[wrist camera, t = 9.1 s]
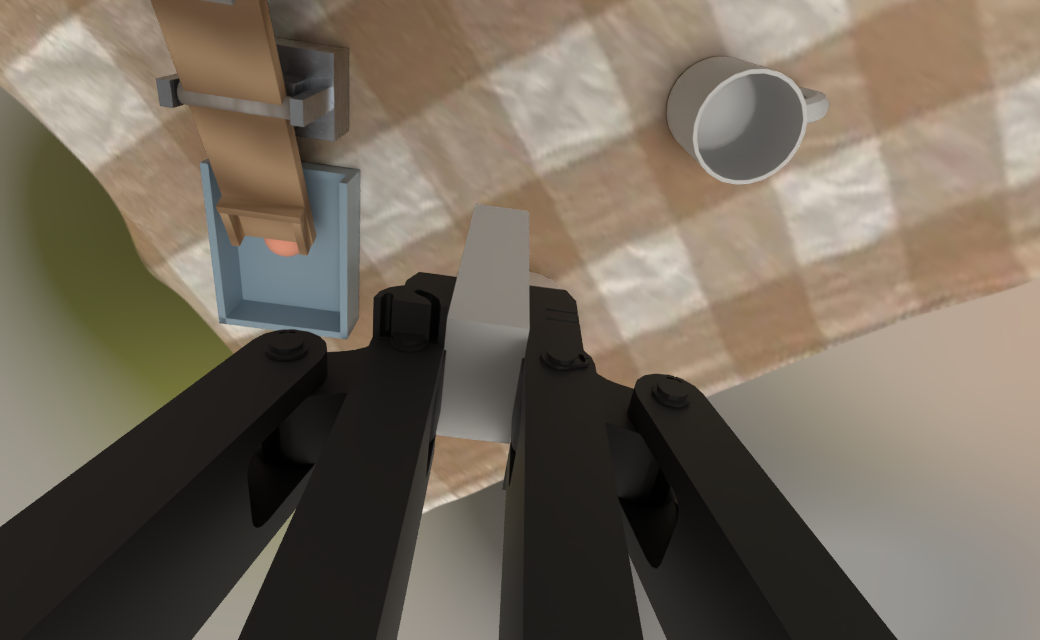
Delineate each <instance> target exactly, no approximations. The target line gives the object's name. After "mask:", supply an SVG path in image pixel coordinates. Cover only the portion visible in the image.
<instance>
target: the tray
mask: <svg viewBox="0 0 1040 640" xmlns="http://www.w3.org/2000/svg"><path fill="white" fill-rule="evenodd" d="M301 165H302V169H303V174H304V179H305V183H306V188H307V193H308V198H309V202H310V207H311V212H312V216H313V221H314V226H315V231H316V235H317V236H316V239H315V241H314V244H313V245H311V248H310V251H309V253H308V256H307V255H300V254H297V255H294V256H289V257H285V256H280V255H277V254H275V253H274V252H272V251H271V250H270V249H269V248H268V247H267V245H266V243H265V241H264V238H260V237H252V236H245V237H244V239H243V241H242V243H241V245H240V246H232V245H231V242H230V239H229V237H228V234H227V231H226V229H225V226H224V224H223V221H222V218H221V216H220V213H218V211H217V209H216V205H217V203H218V202H219V200H220V198H221V196H222V194H221V192H220V189H219V186H218V183H217V181H216V178H215V175H214V172H213V170H212V167H211V164H210V161H209V159H206V160H204V161H202V162H200V168H201V177H202V185H203V193H204V201H205V209H206V217H207V225H208V234H209V242H210V250H211V258H212V266H213V274H214V283H215V291H216V299H217V307H218V315H219V323H222V324H230V325H238V326H246V327H254V328H261V329H269V330H283V329H287V330H289V329H296V330H302V331H308V332H311V333H313V334H316V335H318V336H325V337H332V338H340V339H348V337H349V335H350V333H351V331H352V329H353V327H354V326H355V324H356V322H357V320H358V318H359V244H360V170H357V169H350V168H343V167H336V166H329V165H323V164H316V163H309V162H302V161H301Z"/></svg>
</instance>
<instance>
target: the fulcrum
mask: <svg viewBox="0 0 1040 640" xmlns="http://www.w3.org/2000/svg"><path fill="white" fill-rule="evenodd" d="M275 42H276V47H277V51H278V56H279V61H280V66H281V70H282V75H283V80H284V84H285V89H286V94H287V96H289V97H292V98H289V100H290V121H291V125H293V127H294V132H295V136H299V137H306V138H313V139H319V140H326V141H333V142H335V141H336V140H337V139H339V138H340V137H341V136H343V135H344V134H345V133H347V132H348V131H349V49H348V48H342V47H335V46H329V45H322V44H316V43H309V42H303V41H297V40H290V39H284V38H277V37H275ZM156 82H157V89H158V95H159V102H160V106H164V107H171V108H174V107H177V106H181V105H184V104H182V103H181V102H180V101H179V99H178V95H177V87H178V84H179V82H180V79H179V76H178V74H173V75H169V76H165V77H160V78H156Z"/></svg>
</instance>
